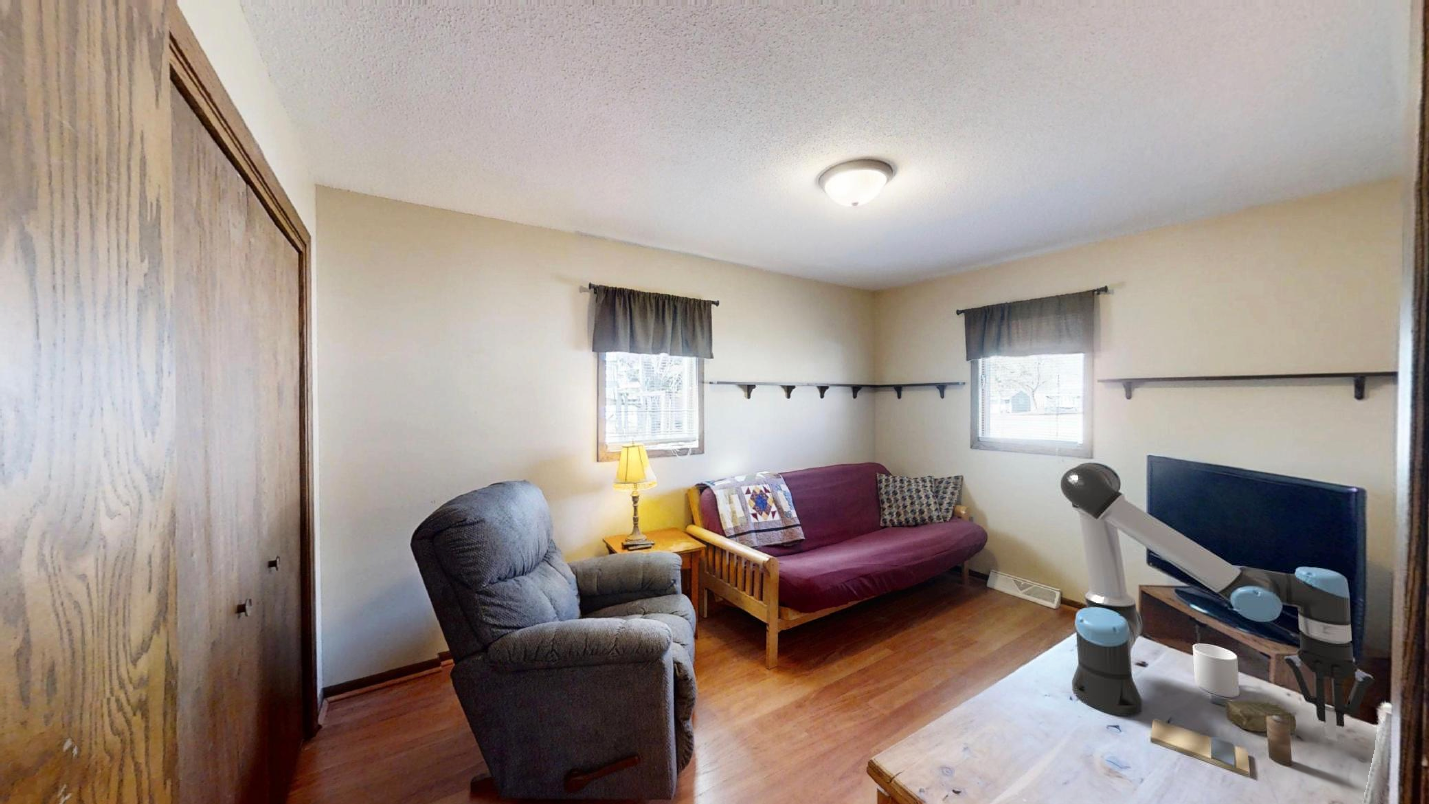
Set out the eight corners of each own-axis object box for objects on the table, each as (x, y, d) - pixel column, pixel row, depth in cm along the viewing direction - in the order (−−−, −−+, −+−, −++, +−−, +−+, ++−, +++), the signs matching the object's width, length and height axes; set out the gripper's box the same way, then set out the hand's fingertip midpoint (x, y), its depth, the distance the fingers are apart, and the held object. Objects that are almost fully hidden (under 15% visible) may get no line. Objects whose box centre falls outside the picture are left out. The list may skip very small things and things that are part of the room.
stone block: (1299, 736, 113) (1298, 715, 113) (1244, 733, 115) (1242, 713, 115) (1275, 720, 119) (1273, 700, 119) (1223, 717, 120) (1221, 698, 121)
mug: (1253, 690, 130) (1250, 652, 130) (1229, 701, 126) (1226, 662, 126) (1211, 674, 138) (1209, 638, 138) (1188, 684, 134) (1185, 647, 134)
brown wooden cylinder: (1269, 760, 106) (1266, 717, 106) (1268, 752, 108) (1265, 710, 108) (1293, 768, 103) (1290, 724, 104) (1291, 760, 106) (1288, 717, 106)
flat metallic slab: (1150, 741, 113) (1150, 735, 113) (1160, 681, 136) (1160, 676, 136) (1250, 777, 102) (1249, 770, 102) (1242, 705, 124) (1242, 699, 124)
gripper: (1283, 633, 111) (1289, 731, 111) (1376, 652, 101) (1383, 760, 101) (1279, 622, 116) (1285, 716, 116) (1368, 639, 106) (1375, 742, 106)
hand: (1331, 736), depth 108 cm, fingers closed
